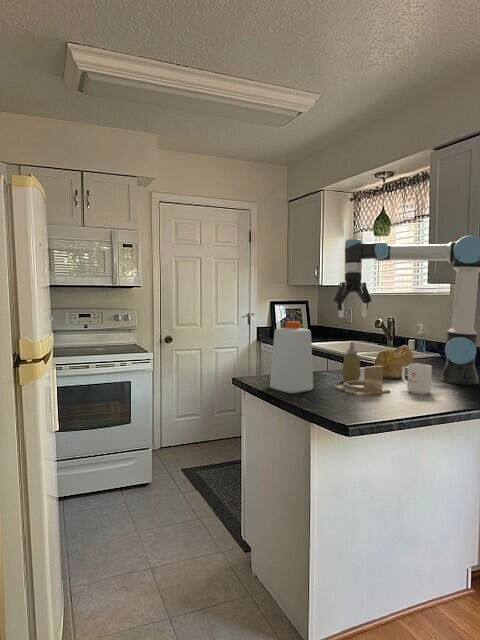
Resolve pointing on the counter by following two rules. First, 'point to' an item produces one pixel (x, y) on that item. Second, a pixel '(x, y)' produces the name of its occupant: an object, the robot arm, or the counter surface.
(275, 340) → the plastic bottle
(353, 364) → the squeeze bottle
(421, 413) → the counter surface
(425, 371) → the mug
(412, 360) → the rough brown rock
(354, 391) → the cup bracket
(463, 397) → the counter surface
